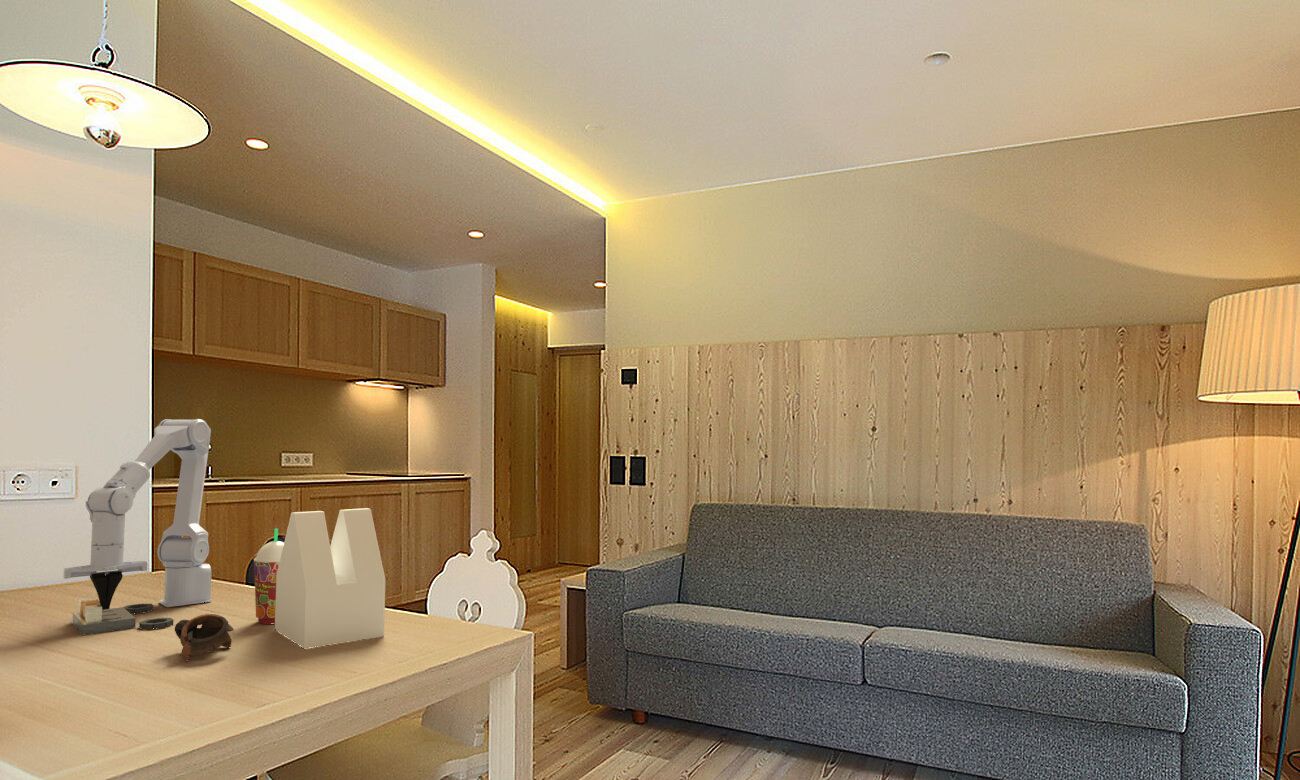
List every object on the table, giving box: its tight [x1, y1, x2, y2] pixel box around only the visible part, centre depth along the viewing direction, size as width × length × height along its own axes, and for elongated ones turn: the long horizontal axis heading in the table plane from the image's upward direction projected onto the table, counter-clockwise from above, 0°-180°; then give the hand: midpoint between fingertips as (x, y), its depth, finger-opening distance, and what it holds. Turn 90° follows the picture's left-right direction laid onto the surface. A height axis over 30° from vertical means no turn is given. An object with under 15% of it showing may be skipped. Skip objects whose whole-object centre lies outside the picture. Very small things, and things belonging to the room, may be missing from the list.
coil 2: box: [138, 617, 174, 630], centre depth 164 cm, size 6×6×1 cm
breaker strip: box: [72, 597, 137, 636], centre depth 165 cm, size 9×14×5 cm, turn 43°
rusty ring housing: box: [174, 613, 235, 661], centre depth 144 cm, size 12×10×8 cm
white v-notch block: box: [274, 507, 386, 648], centre depth 160 cm, size 19×15×25 cm
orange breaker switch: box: [83, 599, 100, 617], centre depth 164 cm, size 2×3×3 cm
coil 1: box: [122, 603, 154, 615], centre depth 178 cm, size 6×6×1 cm
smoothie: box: [253, 528, 284, 625], centre depth 170 cm, size 8×8×20 cm
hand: (104, 608), depth 165 cm, fingers closed
